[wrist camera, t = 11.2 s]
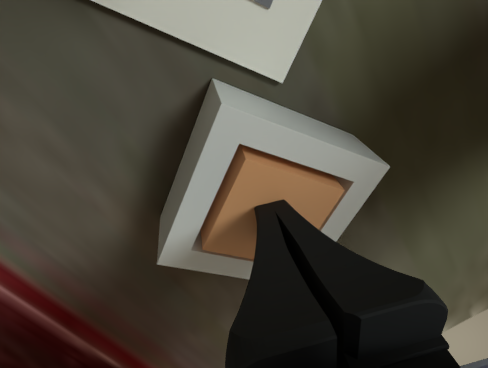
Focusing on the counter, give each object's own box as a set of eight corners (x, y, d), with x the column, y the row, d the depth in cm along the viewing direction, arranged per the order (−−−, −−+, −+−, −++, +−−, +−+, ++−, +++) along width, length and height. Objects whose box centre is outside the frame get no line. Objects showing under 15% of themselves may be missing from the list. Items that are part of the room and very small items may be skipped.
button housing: (353, 134, 17) (390, 166, 14) (284, 244, 20) (302, 288, 17) (212, 77, 14) (221, 103, 11) (160, 216, 17) (157, 264, 14)
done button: (323, 163, 16) (344, 190, 14) (279, 235, 18) (293, 266, 16) (235, 133, 14) (245, 158, 12) (199, 216, 16) (202, 249, 14)
